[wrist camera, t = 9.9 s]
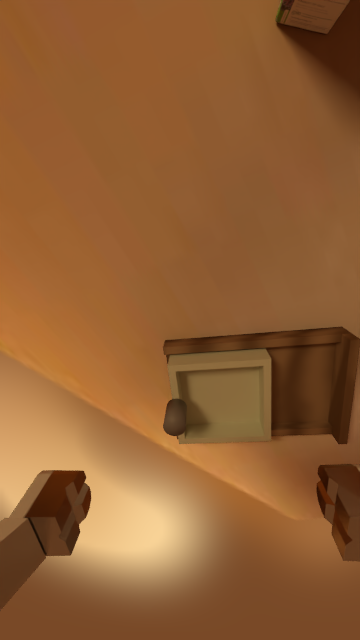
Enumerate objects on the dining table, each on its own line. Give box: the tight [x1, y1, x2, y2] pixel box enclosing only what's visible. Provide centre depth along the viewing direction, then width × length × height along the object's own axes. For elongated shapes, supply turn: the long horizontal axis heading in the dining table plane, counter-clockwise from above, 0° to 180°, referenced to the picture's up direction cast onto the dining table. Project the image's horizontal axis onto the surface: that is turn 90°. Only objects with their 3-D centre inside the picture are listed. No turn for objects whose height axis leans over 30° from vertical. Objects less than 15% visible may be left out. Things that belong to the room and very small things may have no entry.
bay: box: [163, 327, 360, 444], centre depth 38 cm, size 26×17×4 cm, turn 97°
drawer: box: [163, 348, 271, 444], centre depth 36 cm, size 15×14×8 cm
